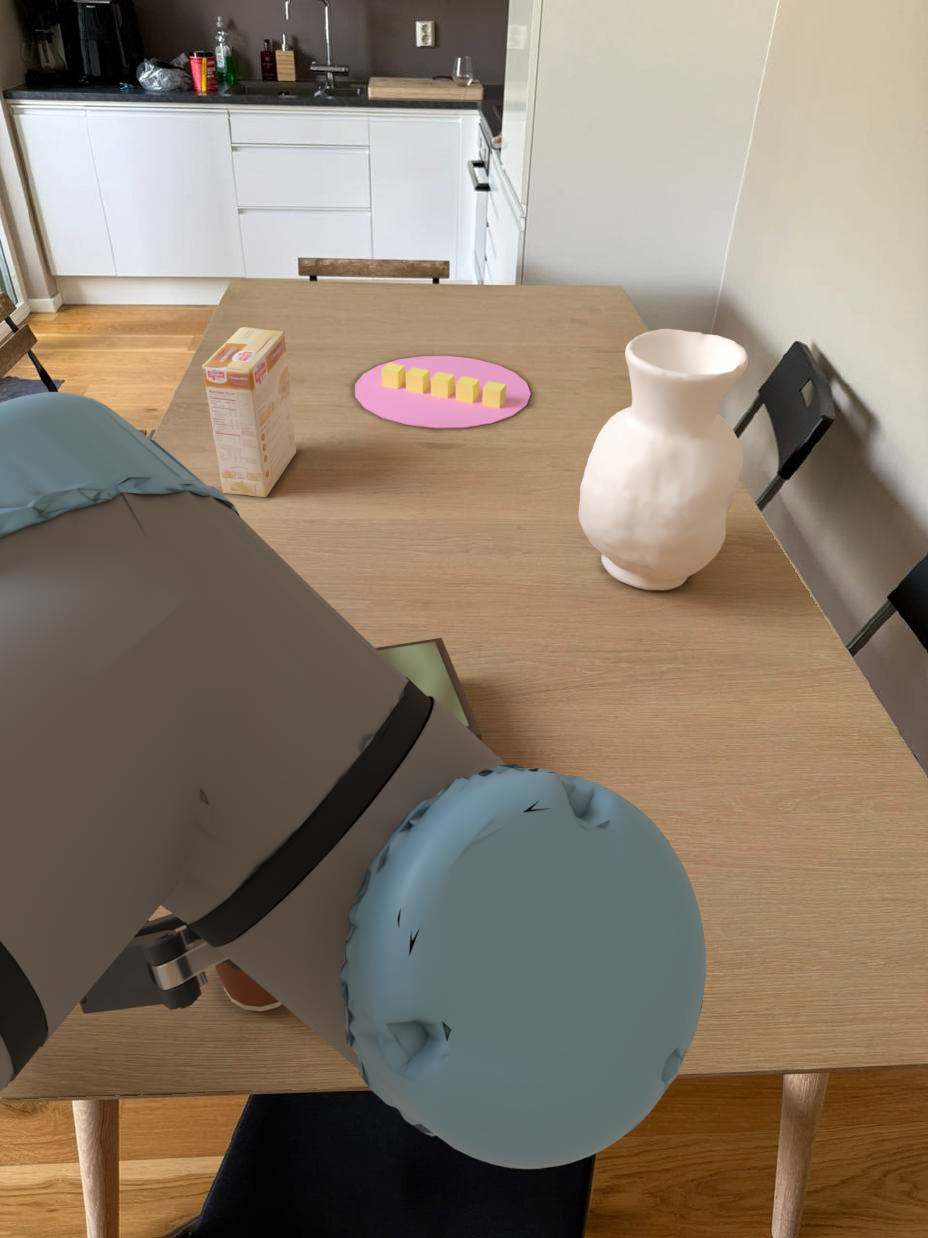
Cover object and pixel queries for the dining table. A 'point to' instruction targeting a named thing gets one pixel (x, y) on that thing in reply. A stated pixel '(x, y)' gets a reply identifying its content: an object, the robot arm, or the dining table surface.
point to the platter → (442, 392)
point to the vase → (665, 461)
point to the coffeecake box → (251, 410)
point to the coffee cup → (245, 989)
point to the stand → (433, 676)
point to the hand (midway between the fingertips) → (265, 875)
